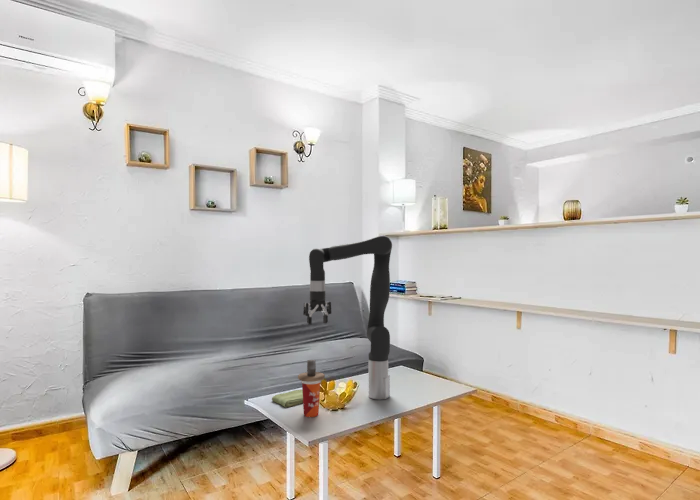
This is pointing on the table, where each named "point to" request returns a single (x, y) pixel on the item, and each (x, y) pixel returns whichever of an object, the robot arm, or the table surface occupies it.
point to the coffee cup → (311, 398)
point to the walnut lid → (311, 373)
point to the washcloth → (289, 398)
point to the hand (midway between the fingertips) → (317, 324)
